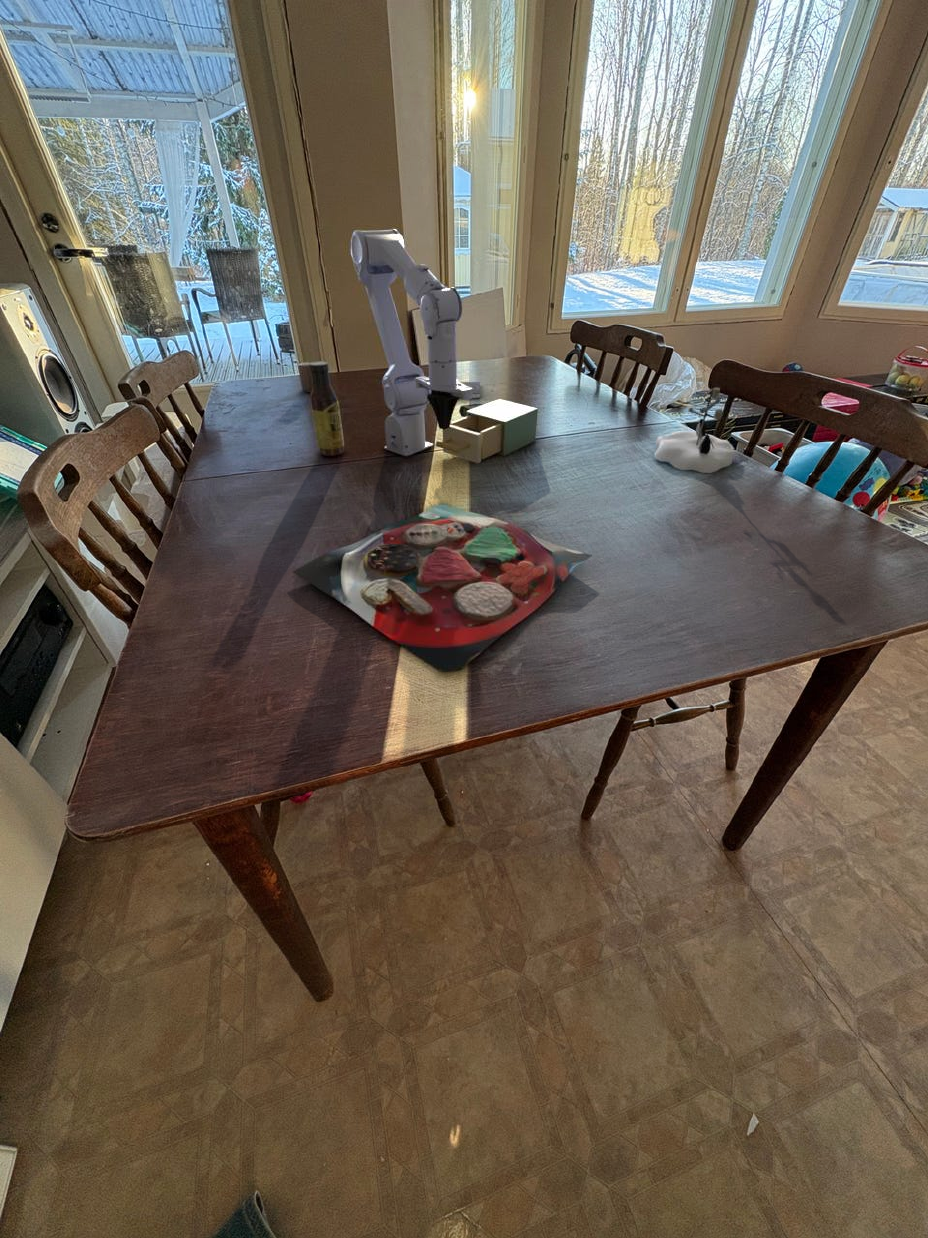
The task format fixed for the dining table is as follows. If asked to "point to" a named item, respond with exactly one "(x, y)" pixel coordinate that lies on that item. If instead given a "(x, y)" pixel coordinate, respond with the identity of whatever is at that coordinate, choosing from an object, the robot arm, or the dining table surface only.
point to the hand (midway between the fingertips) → (444, 427)
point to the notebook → (475, 388)
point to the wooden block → (305, 377)
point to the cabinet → (510, 422)
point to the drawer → (472, 438)
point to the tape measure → (467, 408)
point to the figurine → (697, 444)
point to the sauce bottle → (325, 412)
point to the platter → (444, 581)
